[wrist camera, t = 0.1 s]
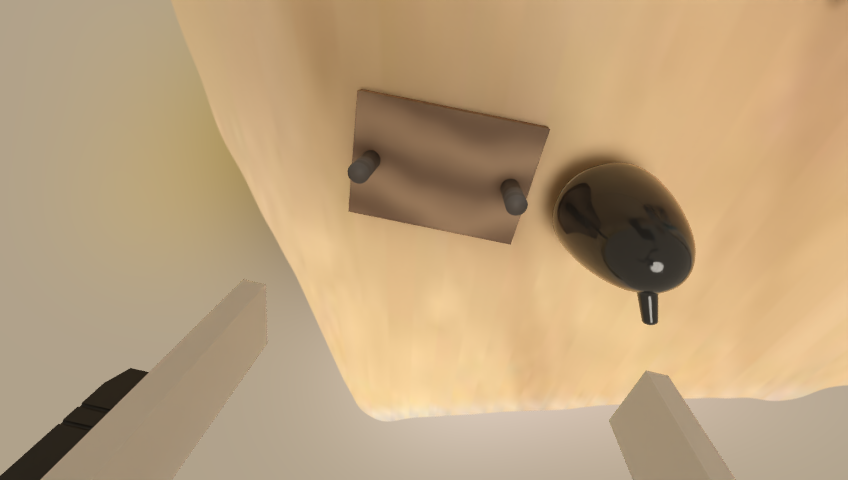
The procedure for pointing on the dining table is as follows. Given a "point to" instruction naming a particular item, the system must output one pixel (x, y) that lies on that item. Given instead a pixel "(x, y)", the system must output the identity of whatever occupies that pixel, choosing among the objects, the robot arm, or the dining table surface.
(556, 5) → the dining table surface
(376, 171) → the holder
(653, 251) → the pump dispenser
